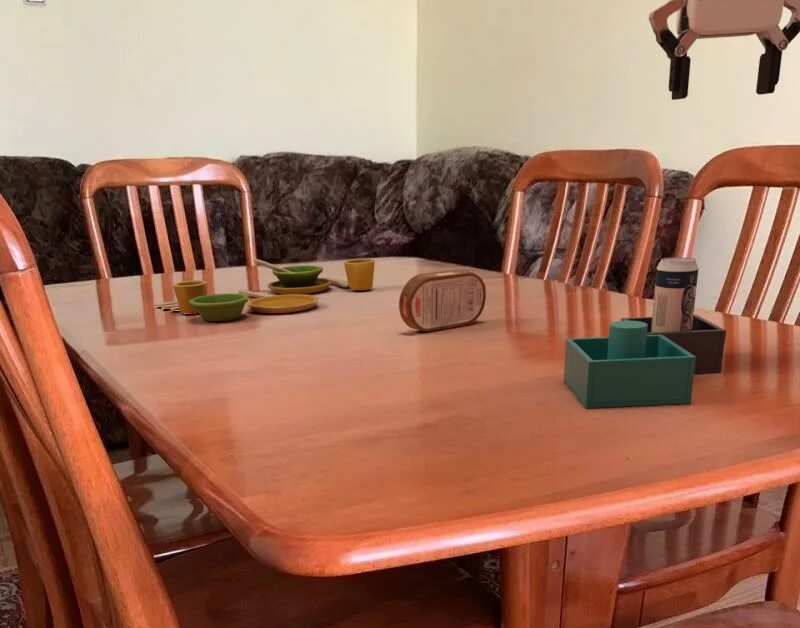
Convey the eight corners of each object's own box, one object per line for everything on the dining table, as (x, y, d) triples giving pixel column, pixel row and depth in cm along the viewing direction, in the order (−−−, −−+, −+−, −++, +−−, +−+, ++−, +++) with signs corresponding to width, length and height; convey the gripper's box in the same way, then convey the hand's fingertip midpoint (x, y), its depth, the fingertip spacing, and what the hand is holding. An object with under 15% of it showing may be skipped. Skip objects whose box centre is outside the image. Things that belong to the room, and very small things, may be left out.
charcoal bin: (692, 353, 107) (696, 314, 105) (720, 372, 98) (726, 330, 96) (618, 357, 107) (621, 318, 105) (640, 376, 98) (643, 334, 96)
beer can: (690, 365, 100) (702, 261, 95) (650, 365, 101) (659, 262, 96) (685, 355, 104) (696, 256, 99) (646, 355, 105) (655, 257, 100)
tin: (476, 319, 132) (477, 265, 129) (489, 322, 130) (489, 267, 126) (398, 333, 125) (396, 276, 122) (410, 336, 123) (408, 278, 119)
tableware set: (328, 280, 177) (325, 249, 174) (409, 294, 157) (408, 259, 154) (144, 307, 154) (138, 272, 151) (211, 328, 134) (206, 288, 131)
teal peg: (636, 381, 94) (641, 319, 91) (646, 391, 91) (652, 327, 88) (601, 383, 94) (605, 321, 91) (610, 393, 91) (615, 328, 88)
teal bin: (657, 376, 98) (661, 334, 96) (690, 403, 88) (696, 356, 85) (563, 380, 98) (565, 338, 95) (585, 408, 87) (588, 361, 85)
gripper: (805, -88, 88) (782, 93, 95) (645, -79, 88) (634, 102, 95) (843, -107, 81) (815, 89, 89) (669, -98, 81) (656, 99, 88)
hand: (722, 96), depth 92 cm, fingers open, 9 cm apart
